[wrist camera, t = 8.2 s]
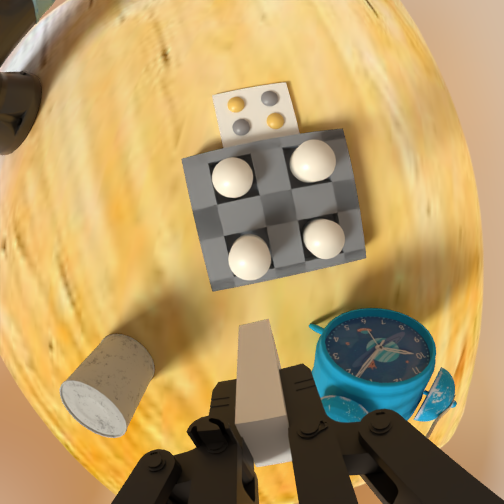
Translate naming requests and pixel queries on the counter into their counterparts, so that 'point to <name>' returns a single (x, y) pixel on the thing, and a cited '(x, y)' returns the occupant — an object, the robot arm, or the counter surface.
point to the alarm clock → (379, 367)
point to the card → (255, 114)
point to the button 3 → (312, 161)
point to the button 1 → (232, 177)
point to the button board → (273, 207)
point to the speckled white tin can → (109, 385)
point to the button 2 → (249, 257)
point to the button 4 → (323, 238)
